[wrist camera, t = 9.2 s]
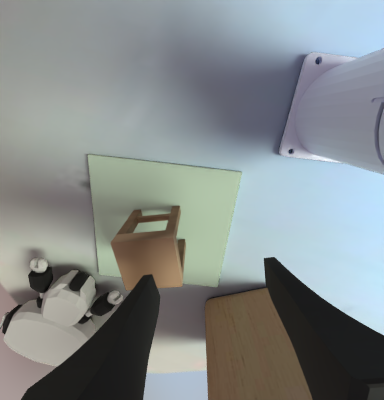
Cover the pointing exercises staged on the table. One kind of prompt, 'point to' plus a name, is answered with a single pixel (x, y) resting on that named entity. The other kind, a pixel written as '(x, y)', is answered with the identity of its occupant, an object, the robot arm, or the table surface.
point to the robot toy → (55, 315)
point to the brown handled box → (150, 251)
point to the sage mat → (165, 209)
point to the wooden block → (250, 350)
